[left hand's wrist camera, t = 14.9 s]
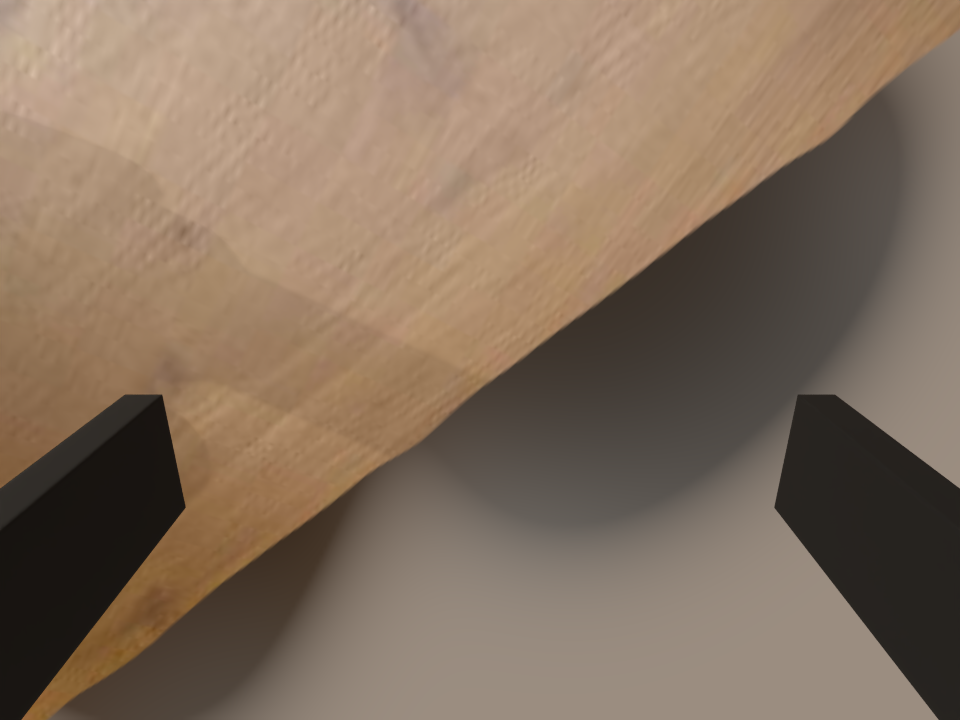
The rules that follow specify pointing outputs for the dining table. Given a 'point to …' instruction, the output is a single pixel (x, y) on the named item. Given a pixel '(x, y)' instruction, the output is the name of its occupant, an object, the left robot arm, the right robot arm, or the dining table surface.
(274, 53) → the dining table surface
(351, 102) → the dining table surface
